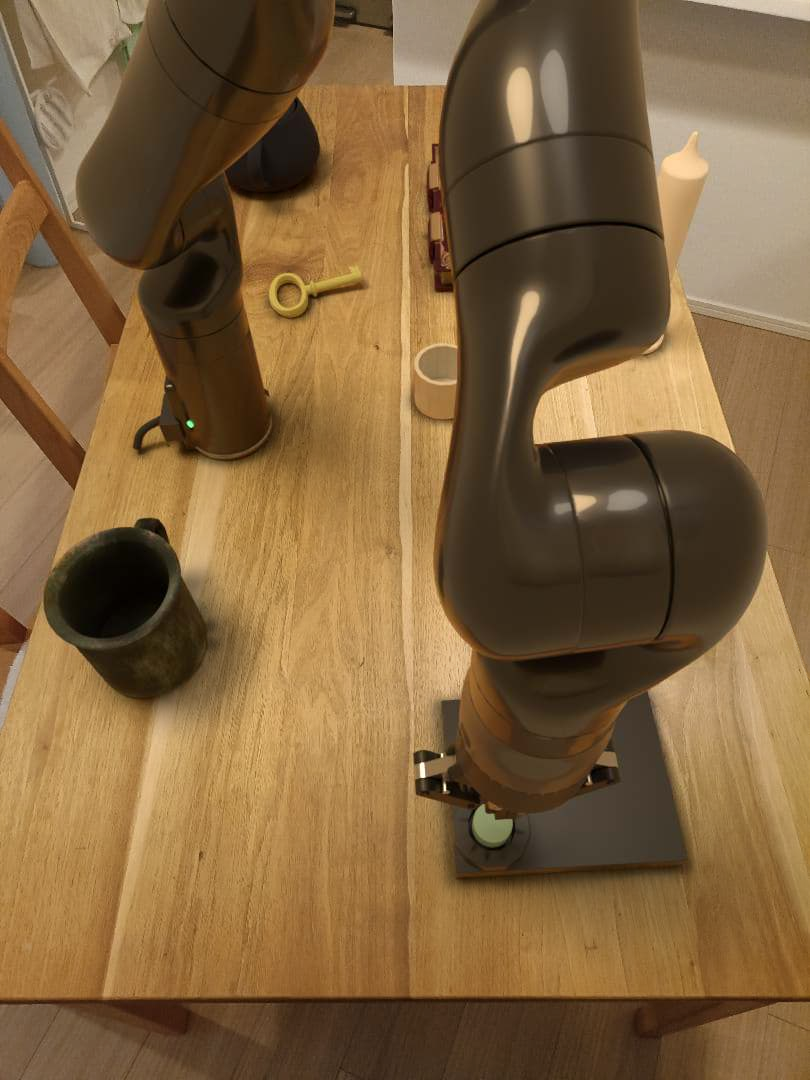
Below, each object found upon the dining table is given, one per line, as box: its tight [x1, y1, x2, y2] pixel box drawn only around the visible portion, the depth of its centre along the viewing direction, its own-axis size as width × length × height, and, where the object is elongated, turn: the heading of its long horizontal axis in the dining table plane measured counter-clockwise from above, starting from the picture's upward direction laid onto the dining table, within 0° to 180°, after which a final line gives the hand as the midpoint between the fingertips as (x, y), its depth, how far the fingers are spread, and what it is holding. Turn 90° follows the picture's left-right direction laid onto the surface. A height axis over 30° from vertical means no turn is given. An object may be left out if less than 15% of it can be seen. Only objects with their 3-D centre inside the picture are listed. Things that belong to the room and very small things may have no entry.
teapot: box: [224, 96, 321, 194], centre depth 108 cm, size 25×16×12 cm, turn 1°
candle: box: [639, 131, 710, 356], centre depth 83 cm, size 7×7×25 cm
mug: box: [42, 517, 208, 698], centre depth 67 cm, size 11×15×12 cm
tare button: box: [472, 804, 513, 848], centre depth 59 cm, size 3×3×2 cm
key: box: [268, 264, 364, 319], centre depth 98 cm, size 7×12×2 cm, turn 123°
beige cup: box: [413, 342, 457, 420], centre depth 86 cm, size 6×6×6 cm
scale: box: [440, 690, 688, 879], centre depth 63 cm, size 18×14×4 cm
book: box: [426, 143, 454, 291], centre depth 104 cm, size 28×21×5 cm
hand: (502, 804), depth 54 cm, fingers closed
